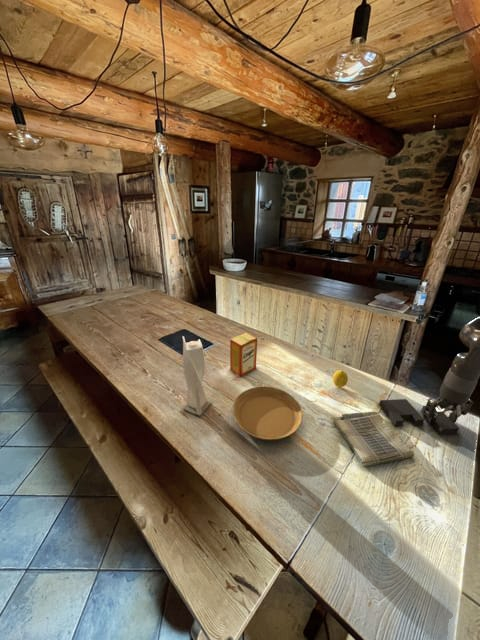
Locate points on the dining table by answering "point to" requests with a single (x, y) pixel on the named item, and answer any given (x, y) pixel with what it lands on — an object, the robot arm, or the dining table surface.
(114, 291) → the dining table surface
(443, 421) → the pad
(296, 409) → the plant saucer
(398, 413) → the notch pad
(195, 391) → the skyscraper
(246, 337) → the baking soda box
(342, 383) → the lemon
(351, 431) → the dish towel
